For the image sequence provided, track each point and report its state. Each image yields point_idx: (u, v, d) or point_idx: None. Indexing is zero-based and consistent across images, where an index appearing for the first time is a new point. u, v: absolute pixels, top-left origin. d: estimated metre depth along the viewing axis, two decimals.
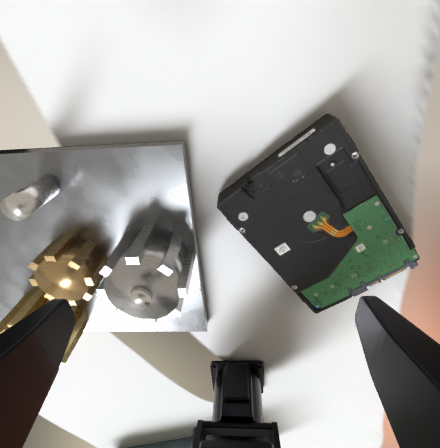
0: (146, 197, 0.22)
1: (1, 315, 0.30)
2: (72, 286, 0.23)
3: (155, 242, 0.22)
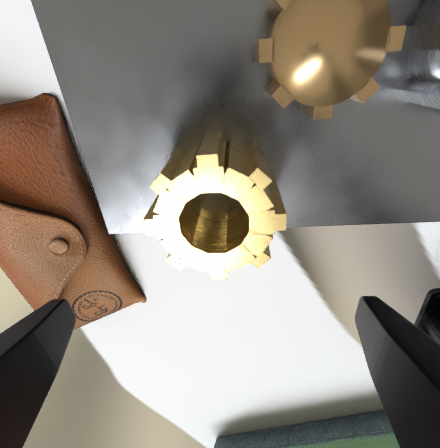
0: None
1: (122, 199, 0.18)
2: (349, 58, 0.11)
3: None
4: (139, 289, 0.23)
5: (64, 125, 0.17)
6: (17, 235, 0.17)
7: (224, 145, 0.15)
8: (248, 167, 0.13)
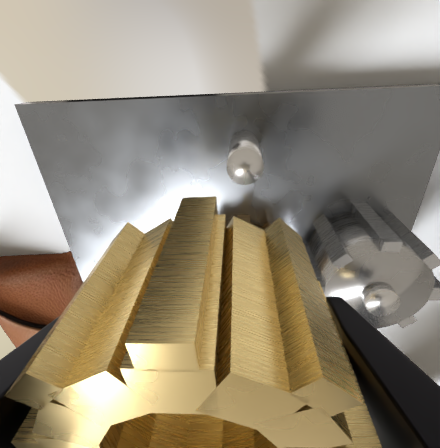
0: (374, 163, 0.16)
1: None
2: None
3: None
4: None
5: None
6: None
7: (220, 233, 0.07)
8: (282, 325, 0.05)
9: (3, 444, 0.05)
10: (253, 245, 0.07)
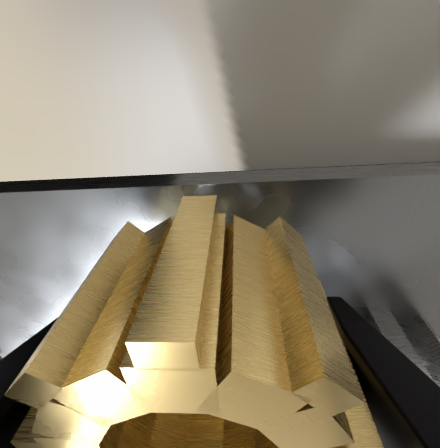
0: (403, 267, 0.11)
1: None
2: None
3: (415, 352, 0.11)
4: None
5: None
6: None
7: (221, 232, 0.07)
8: (283, 324, 0.05)
9: (3, 444, 0.05)
10: (254, 244, 0.07)
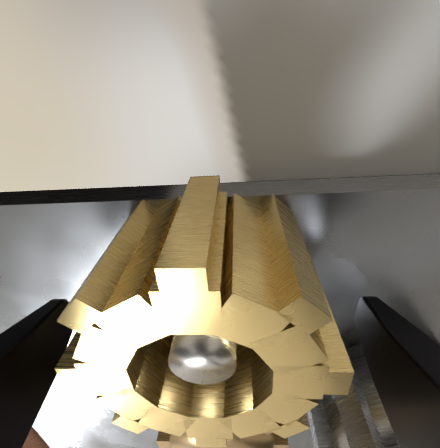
0: (418, 286, 0.10)
1: (63, 437, 0.19)
2: None
3: None
4: None
5: None
6: None
7: (223, 205, 0.08)
8: (273, 270, 0.06)
9: None
10: (250, 215, 0.08)
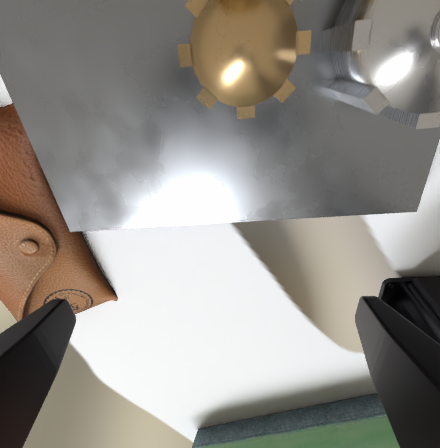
0: None
1: (78, 198, 0.19)
2: (263, 61, 0.11)
3: None
4: (110, 288, 0.24)
5: None
6: None
7: None
8: None
9: None
10: None
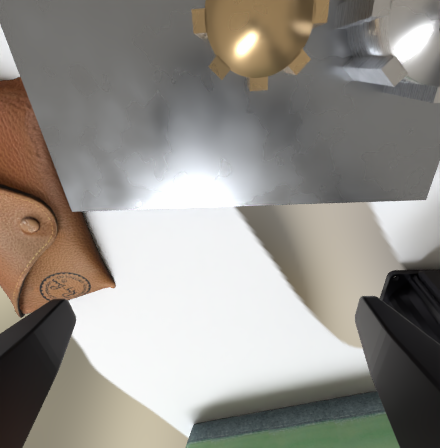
0: None
1: (82, 176, 0.18)
2: (279, 29, 0.11)
3: None
4: (109, 274, 0.24)
5: None
6: None
7: None
8: None
9: None
10: None
